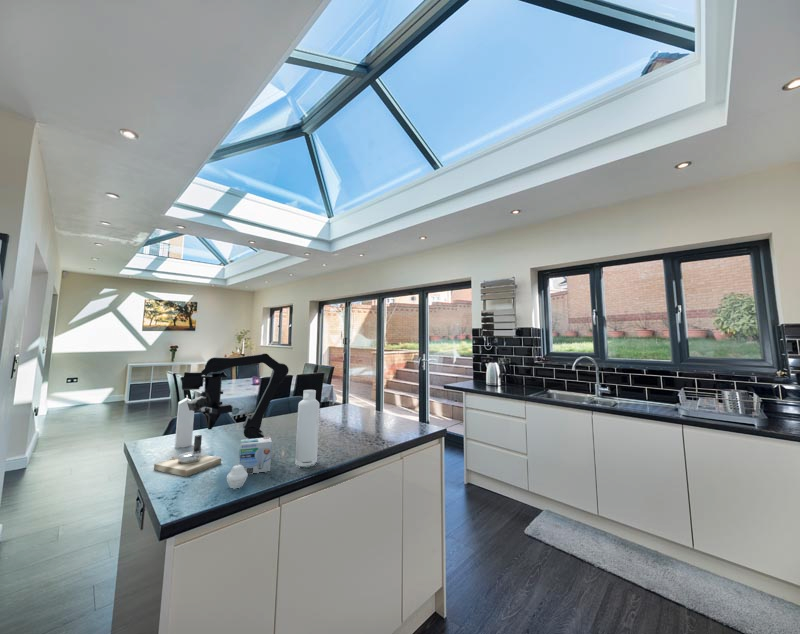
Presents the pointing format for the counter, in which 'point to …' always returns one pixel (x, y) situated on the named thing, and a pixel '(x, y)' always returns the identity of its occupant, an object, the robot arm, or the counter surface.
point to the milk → (184, 424)
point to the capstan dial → (193, 455)
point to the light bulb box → (255, 454)
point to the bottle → (307, 429)
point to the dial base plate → (187, 465)
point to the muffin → (237, 476)
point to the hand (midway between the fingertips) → (209, 429)
